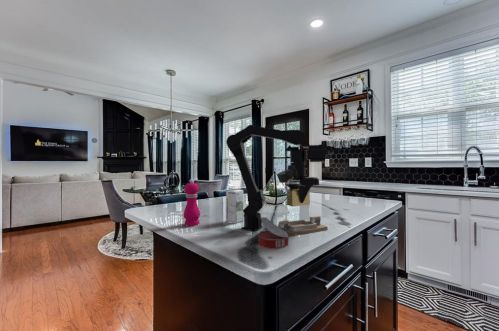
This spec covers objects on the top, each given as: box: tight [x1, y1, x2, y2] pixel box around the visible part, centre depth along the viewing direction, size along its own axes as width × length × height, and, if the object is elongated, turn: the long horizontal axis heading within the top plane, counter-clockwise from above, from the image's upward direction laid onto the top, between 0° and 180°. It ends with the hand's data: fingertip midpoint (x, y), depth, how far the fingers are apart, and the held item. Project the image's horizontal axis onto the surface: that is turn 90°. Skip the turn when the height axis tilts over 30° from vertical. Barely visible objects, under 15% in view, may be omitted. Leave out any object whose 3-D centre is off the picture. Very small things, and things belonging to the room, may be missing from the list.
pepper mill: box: [182, 178, 201, 227], centre depth 107 cm, size 7×7×20 cm
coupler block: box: [286, 189, 311, 207], centre depth 96 cm, size 4×8×6 cm, turn 114°
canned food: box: [258, 216, 289, 250], centre depth 81 cm, size 11×10×10 cm
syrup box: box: [225, 188, 244, 224], centre depth 111 cm, size 6×6×14 cm
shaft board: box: [277, 215, 329, 237], centre depth 97 cm, size 10×20×4 cm, turn 115°
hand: (298, 202), depth 96 cm, fingers closed on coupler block, 4 cm apart
